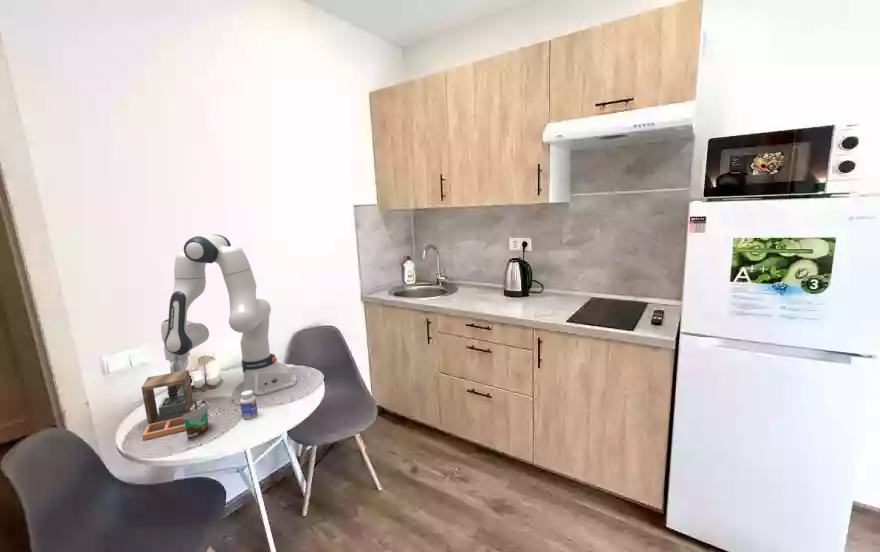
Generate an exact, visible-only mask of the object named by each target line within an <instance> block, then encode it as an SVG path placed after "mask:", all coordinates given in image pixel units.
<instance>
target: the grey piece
mask: <svg viewBox="0 0 880 552" xmlns="http://www.w3.org/2000/svg"><path fill="white" fill-rule="evenodd" d="M190 375H191V374H189V376H190ZM190 382H191V383H192V379H191V376H190ZM176 388H177V390H178V392H177V393H178V397H181V398H183V400H182V403H178V404H173V405H168V406H167V405H166V404H165V403H166V402H167V401H168V400H169V396H166V397H163V399H162V400H161V403H160V405H159V406H158V411H159V412H158V413H159V414H158V415H159V416H163V415H168V414H172V413H176V412H182V411H186V405H185V398H184V392H183V386H182V384H176Z"/></svg>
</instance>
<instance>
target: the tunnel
mask: <svg viewBox="0 0 880 552" xmlns="http://www.w3.org/2000/svg"><path fill="white" fill-rule="evenodd" d="M189 375H190V371H189V369H186V371H180V372H175V373H171V372H169V373H164V374H159V375H153V376H148V377H147V378H146V380H145V382H144V383H143V384H142V386H141V391H142V397H143V403H144V408H145V410H144V411H145V413H146V414H145V415H146V420H147V425H148V424H152V423H156V421H157V418H158V417H159V414H158V413H159V412H158V408H157V402H156V397H155V396H156V395H155V391H154V389H157V388H158V389H159V388H163V387H164V388H165V387H167V386H169V385H174V384H180V383H182V386H183V392H184V398H185V401H184V402H185V405H186V410H185V411H186V412H187V411H188V409H189V407H190V406H191V405H192V404H193V402H194V400H193V399H194V396H193V391H192V388H193V387H191V382H190V376H189Z"/></svg>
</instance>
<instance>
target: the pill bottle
mask: <svg viewBox="0 0 880 552" xmlns="http://www.w3.org/2000/svg"><path fill="white" fill-rule="evenodd" d="M240 397H241V398H240V400H239V404H240V405H239V406H240V410H241V411H240V412H241V417H242V419H243V420H251V419H254V418H256V417H257V416H258V404H257V398H256V395H254V394H253V391H252V390H247V391H244V392H243V391H242V392H241V393H240Z"/></svg>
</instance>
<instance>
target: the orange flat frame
mask: <svg viewBox="0 0 880 552" xmlns="http://www.w3.org/2000/svg"><path fill="white" fill-rule="evenodd" d="M181 432H186V427H185V423H184V420H183V416H181V417H180V416H178V417H176V418H171V419H166V420H161V421H157V422H156V421H155V423H152V424H148V423H147V425H146V426H145V429H144V431H143V433H142V435H141V437H142V441H147V440H152V439H153V440H154V439H156V438H161V437H165V436H168V435H173V434H178V433H181Z"/></svg>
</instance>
